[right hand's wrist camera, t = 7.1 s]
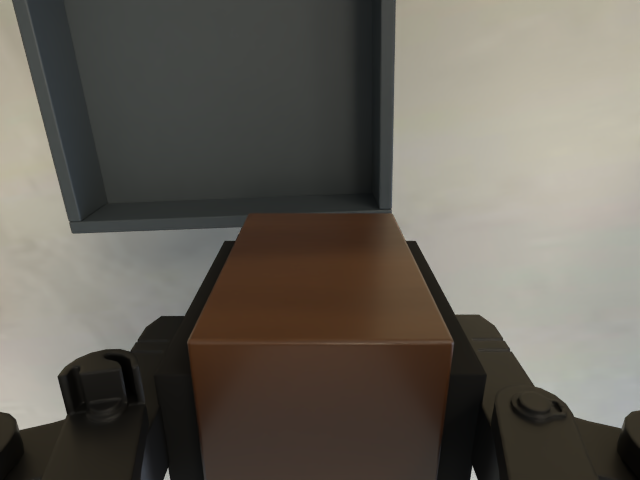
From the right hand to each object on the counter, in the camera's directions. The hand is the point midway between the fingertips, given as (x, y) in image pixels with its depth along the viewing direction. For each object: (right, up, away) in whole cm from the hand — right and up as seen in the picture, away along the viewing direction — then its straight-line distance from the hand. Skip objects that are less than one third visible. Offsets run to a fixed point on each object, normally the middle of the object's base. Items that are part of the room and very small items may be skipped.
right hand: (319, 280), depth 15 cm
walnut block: (0, 0, 0) cm, 0 cm away
